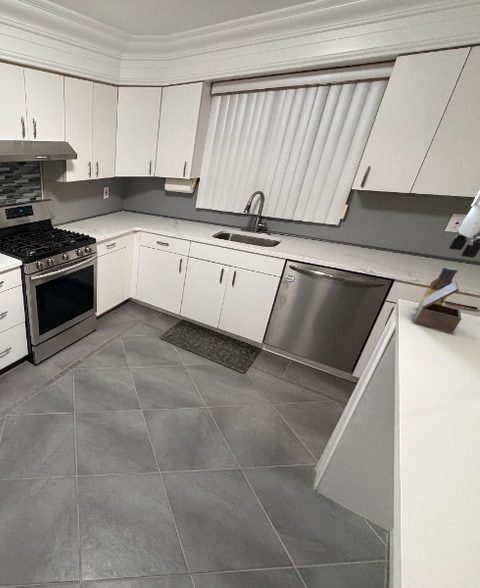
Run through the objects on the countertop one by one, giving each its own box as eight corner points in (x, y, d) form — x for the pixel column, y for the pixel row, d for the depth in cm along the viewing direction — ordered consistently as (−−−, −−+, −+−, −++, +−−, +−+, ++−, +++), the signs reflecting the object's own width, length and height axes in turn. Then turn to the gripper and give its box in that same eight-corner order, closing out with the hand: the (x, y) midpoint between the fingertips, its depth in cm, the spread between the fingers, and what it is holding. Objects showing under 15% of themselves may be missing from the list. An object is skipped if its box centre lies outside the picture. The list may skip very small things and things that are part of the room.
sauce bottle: (437, 317, 128) (463, 272, 119) (416, 312, 131) (440, 268, 123) (435, 311, 132) (461, 268, 123) (415, 306, 136) (439, 264, 127)
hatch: (457, 282, 118) (455, 281, 118) (459, 290, 111) (457, 289, 112) (424, 300, 126) (422, 298, 126) (424, 308, 119) (422, 306, 119)
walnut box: (450, 324, 123) (459, 309, 120) (451, 334, 116) (461, 318, 113) (414, 314, 129) (422, 300, 126) (414, 323, 122) (422, 308, 120)
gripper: (522, 208, 93) (488, 261, 101) (492, 201, 107) (464, 248, 114) (487, 206, 96) (457, 257, 104) (462, 198, 110) (436, 245, 118)
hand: (460, 252), depth 109 cm, fingers open, 9 cm apart
